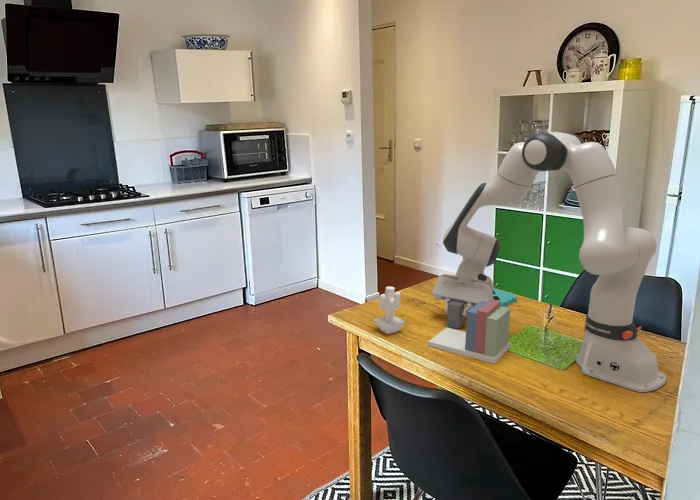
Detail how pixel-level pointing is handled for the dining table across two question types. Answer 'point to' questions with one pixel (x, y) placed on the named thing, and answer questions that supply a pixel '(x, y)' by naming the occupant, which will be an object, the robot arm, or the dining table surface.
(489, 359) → the shelf board
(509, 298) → the alien figure
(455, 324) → the bookend block
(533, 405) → the dining table surface
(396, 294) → the figurine
